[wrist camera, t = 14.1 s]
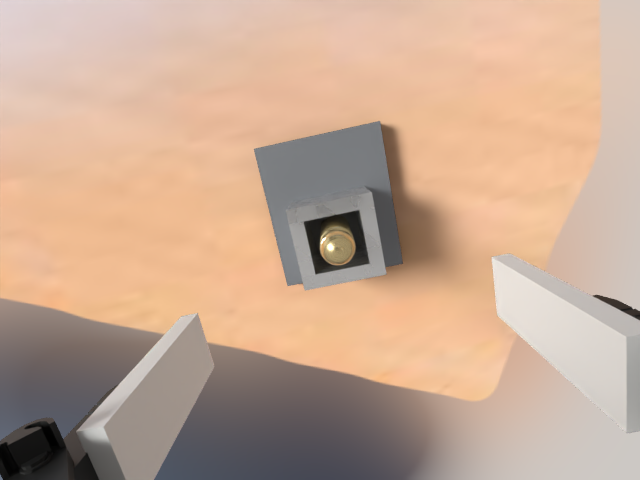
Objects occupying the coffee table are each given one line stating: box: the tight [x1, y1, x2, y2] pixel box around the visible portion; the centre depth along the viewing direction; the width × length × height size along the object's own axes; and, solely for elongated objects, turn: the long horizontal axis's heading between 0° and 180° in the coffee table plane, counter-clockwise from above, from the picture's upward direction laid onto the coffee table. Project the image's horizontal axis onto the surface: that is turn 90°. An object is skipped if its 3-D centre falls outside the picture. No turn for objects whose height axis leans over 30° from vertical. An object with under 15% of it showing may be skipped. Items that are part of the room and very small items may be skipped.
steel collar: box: [286, 186, 386, 290], centre depth 31 cm, size 7×7×6 cm
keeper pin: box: [320, 214, 356, 265], centre depth 29 cm, size 3×3×9 cm
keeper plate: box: [254, 121, 403, 286], centre depth 34 cm, size 14×12×2 cm
